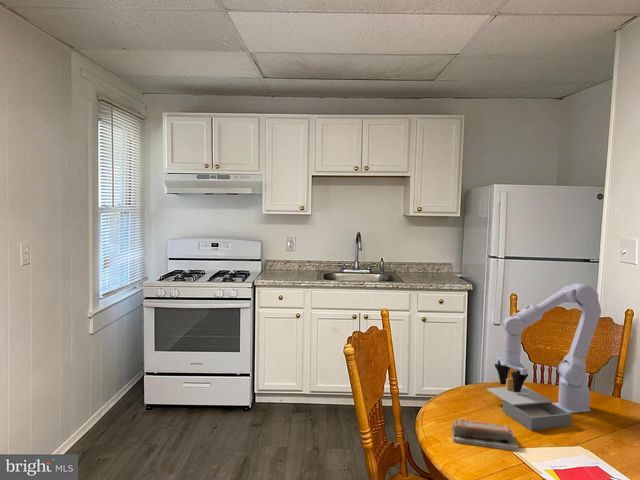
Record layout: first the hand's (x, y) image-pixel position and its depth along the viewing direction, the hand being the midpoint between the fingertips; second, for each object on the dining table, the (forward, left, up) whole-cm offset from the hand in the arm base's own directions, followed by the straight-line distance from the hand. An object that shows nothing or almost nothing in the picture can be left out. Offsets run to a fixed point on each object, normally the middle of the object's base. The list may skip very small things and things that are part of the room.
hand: (510, 387), depth 168 cm
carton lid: (0, +5, -1) cm, 5 cm away
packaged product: (+25, +22, -6) cm, 34 cm away
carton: (0, +14, -5) cm, 15 cm away
